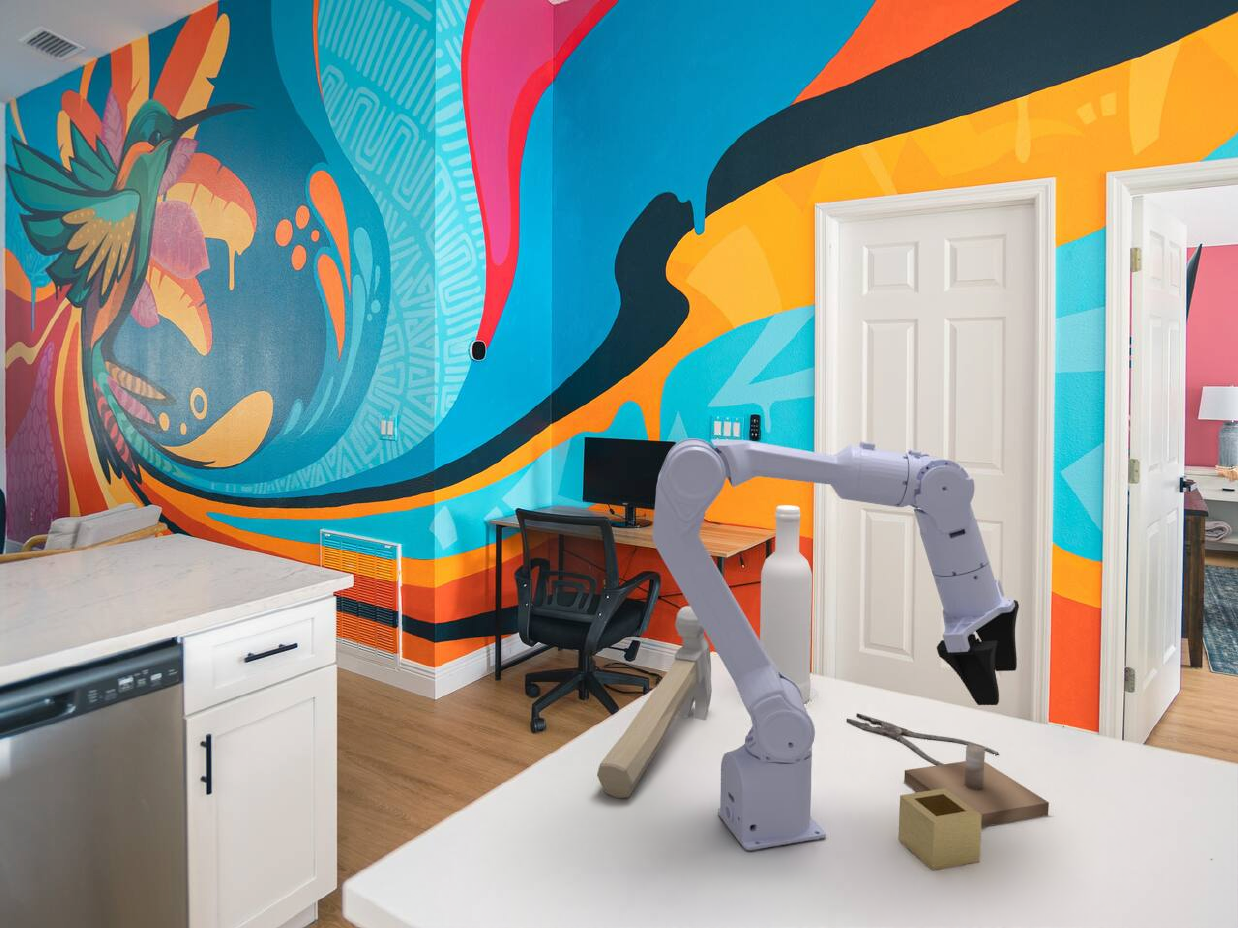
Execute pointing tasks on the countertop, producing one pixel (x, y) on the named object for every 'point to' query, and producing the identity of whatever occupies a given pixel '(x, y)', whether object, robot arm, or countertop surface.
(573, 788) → the countertop surface
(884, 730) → the pliers
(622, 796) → the hammer
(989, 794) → the post board
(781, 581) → the bottle
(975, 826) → the collar
